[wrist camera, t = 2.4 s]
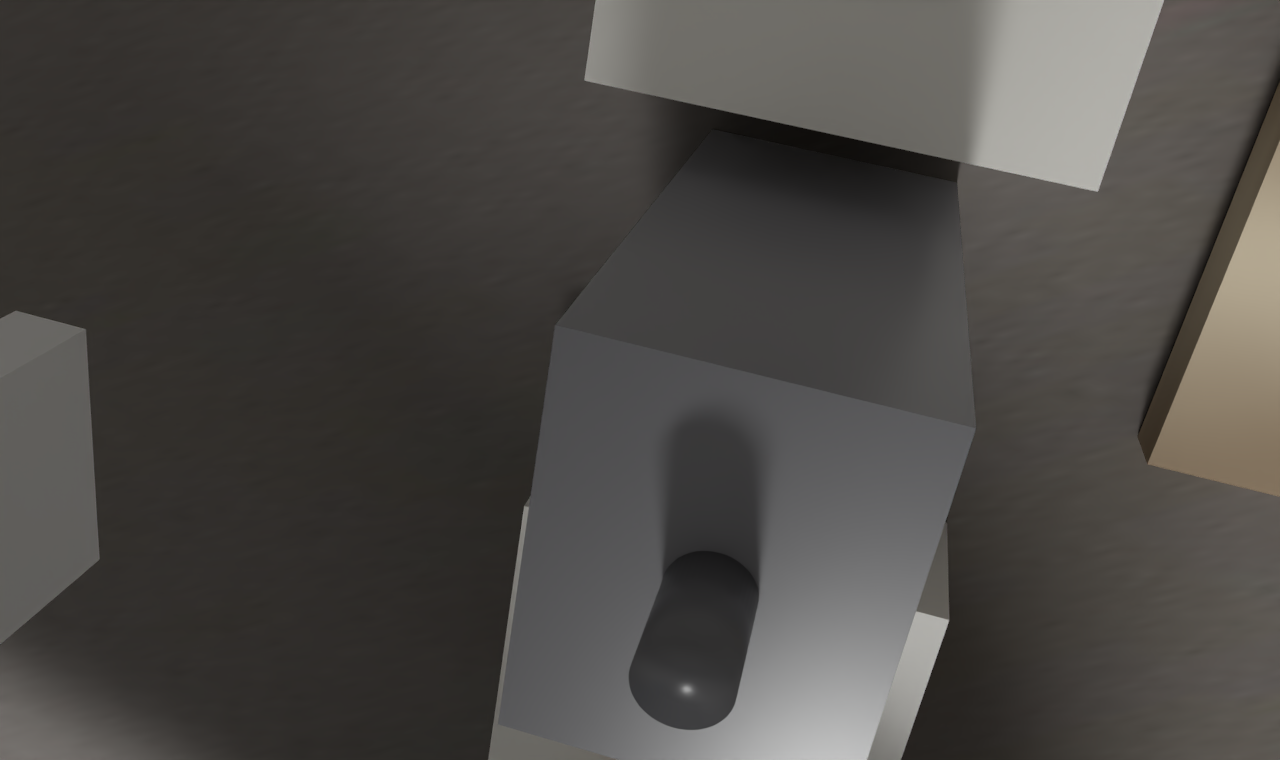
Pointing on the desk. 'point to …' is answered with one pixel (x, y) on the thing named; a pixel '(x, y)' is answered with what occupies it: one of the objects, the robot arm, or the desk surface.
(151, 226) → the desk surface
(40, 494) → the robot arm
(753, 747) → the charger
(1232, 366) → the birch board
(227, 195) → the desk surface
